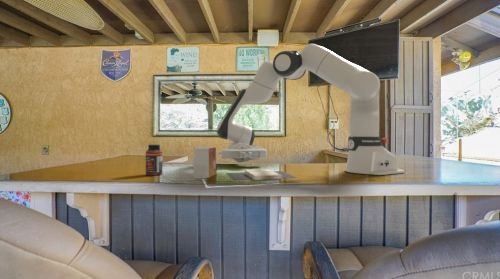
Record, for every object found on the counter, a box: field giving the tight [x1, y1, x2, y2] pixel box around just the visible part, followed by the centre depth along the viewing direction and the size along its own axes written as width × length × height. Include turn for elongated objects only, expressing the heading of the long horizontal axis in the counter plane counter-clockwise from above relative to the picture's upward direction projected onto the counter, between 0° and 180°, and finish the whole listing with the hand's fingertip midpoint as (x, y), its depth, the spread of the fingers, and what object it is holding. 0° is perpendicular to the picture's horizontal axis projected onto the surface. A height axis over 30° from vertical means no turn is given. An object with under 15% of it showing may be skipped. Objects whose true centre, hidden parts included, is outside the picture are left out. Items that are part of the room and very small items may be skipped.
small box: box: [193, 146, 217, 180], centre depth 99 cm, size 8×6×10 cm
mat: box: [225, 170, 298, 181], centre depth 100 cm, size 22×16×1 cm
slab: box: [244, 169, 283, 181], centre depth 97 cm, size 9×1×14 cm
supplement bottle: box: [145, 143, 163, 177], centre depth 105 cm, size 6×6×11 cm
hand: (247, 155), depth 116 cm, fingers closed
